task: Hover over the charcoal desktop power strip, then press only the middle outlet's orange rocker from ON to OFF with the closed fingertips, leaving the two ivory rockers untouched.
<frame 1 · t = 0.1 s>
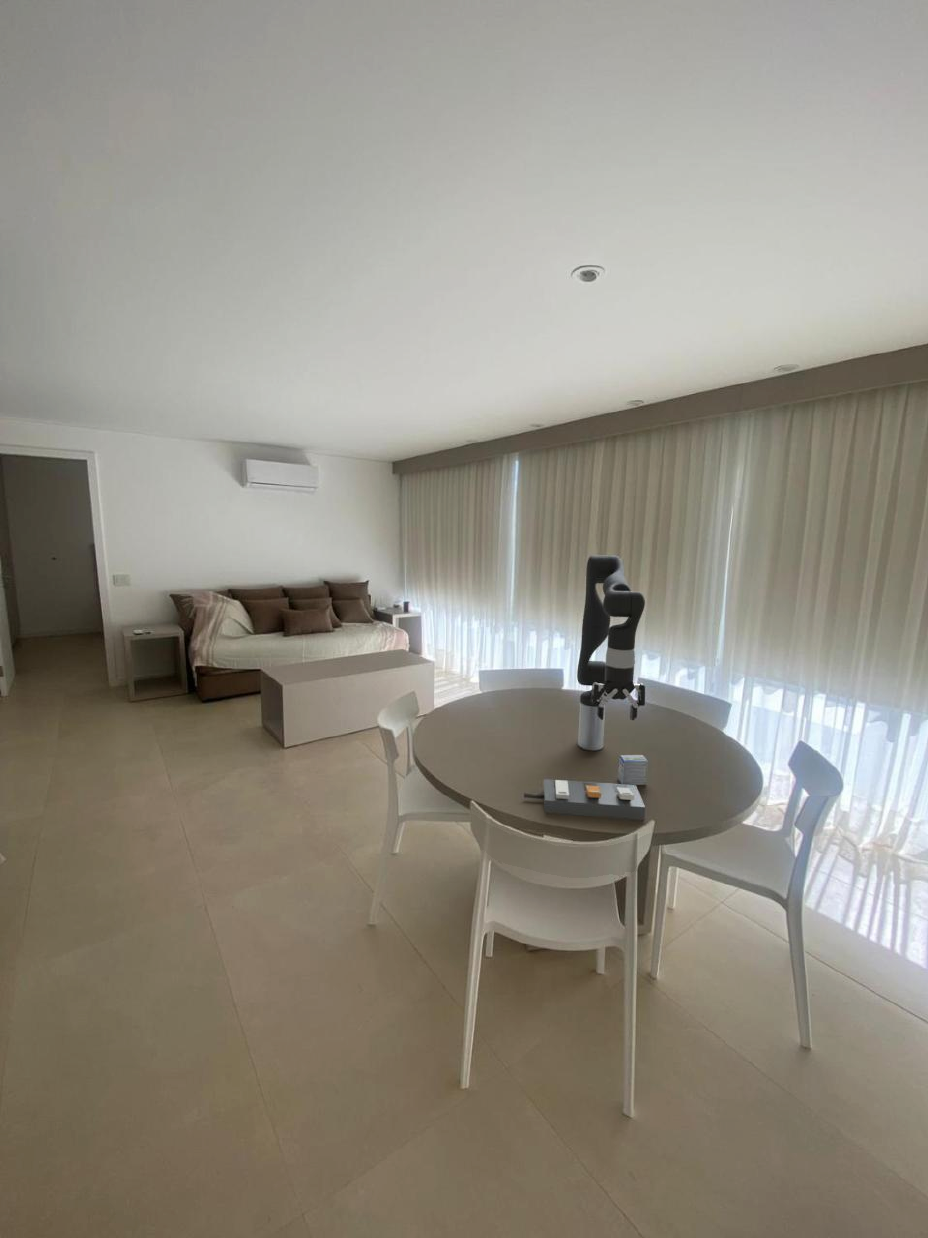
hand: (616, 719, 134), 29 cm above the table, fingers open, 8 cm apart
rocker 2: (593, 791, 140), point 6 cm above the table, hinge at -12.0°
medicine box: (631, 783, 157), on the table
rocker 1: (561, 789, 141), point 6 cm above the table, hinge at 12.0°
rocker 3: (624, 793, 139), point 6 cm above the table, hinge at -12.0°
power strip: (591, 804, 144), on the table
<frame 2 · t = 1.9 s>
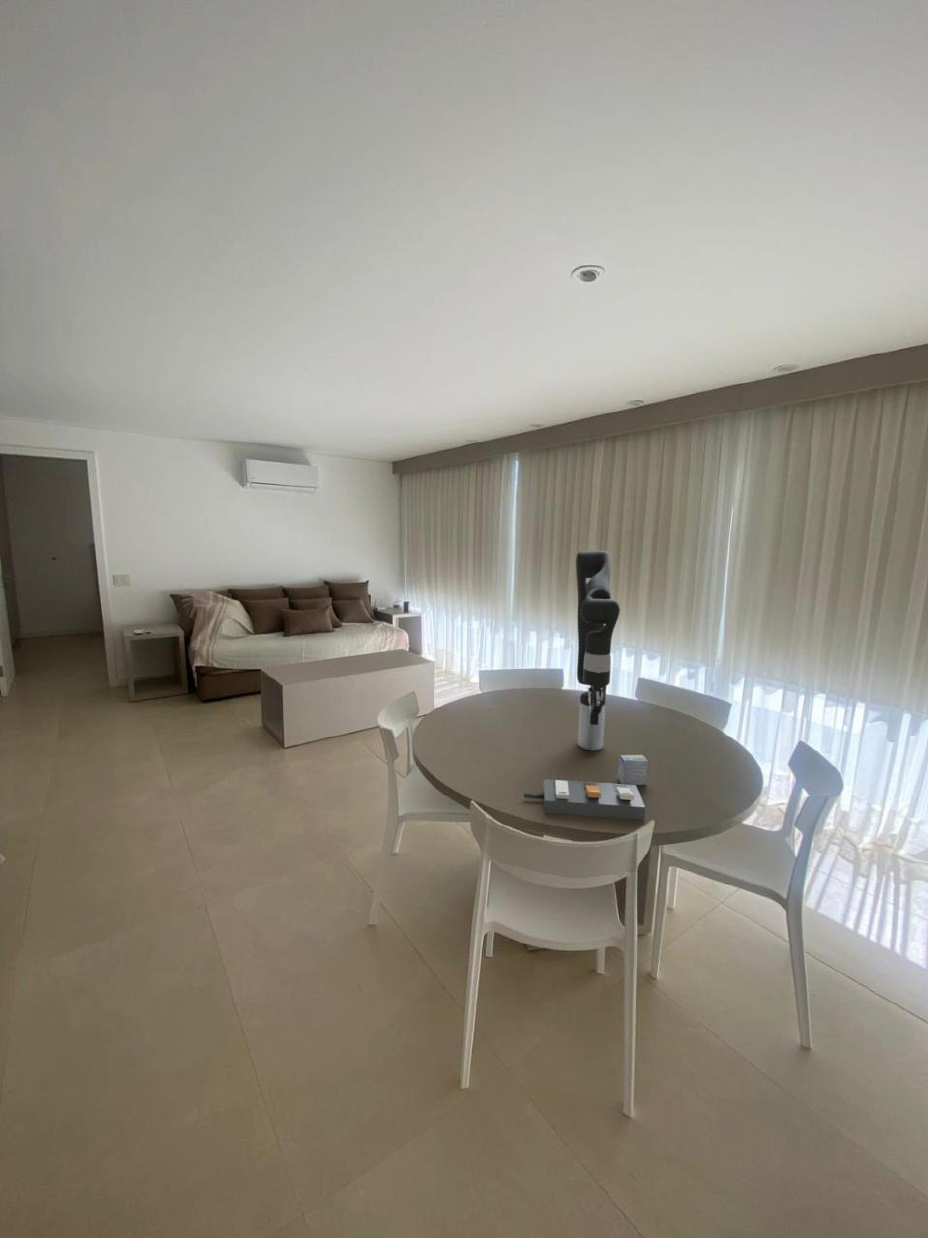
hand: (593, 723, 142), 25 cm above the table, fingers closed
nothing on the table moved.
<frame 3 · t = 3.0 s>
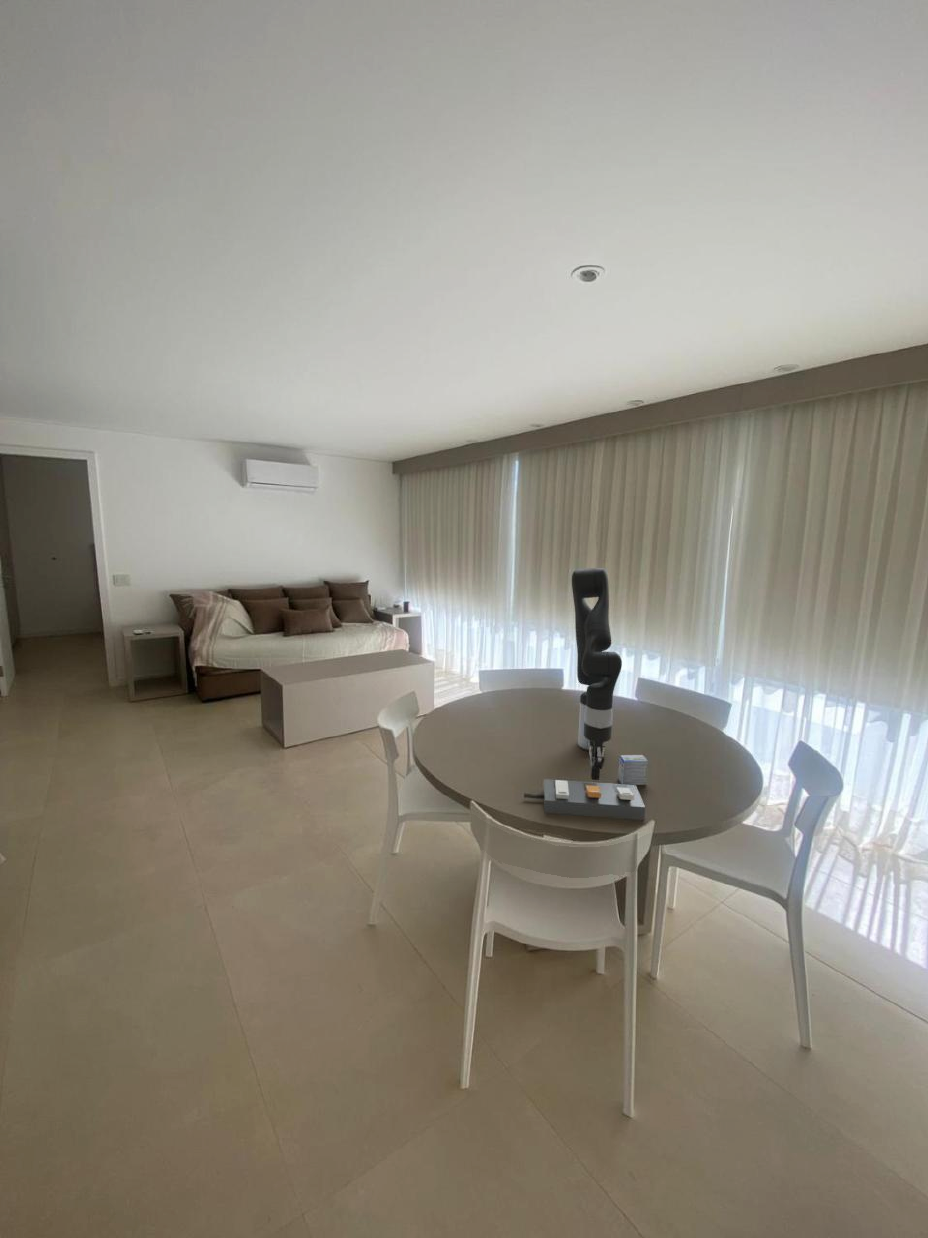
hand: (594, 778, 137), 11 cm above the table, fingers closed
nothing on the table moved.
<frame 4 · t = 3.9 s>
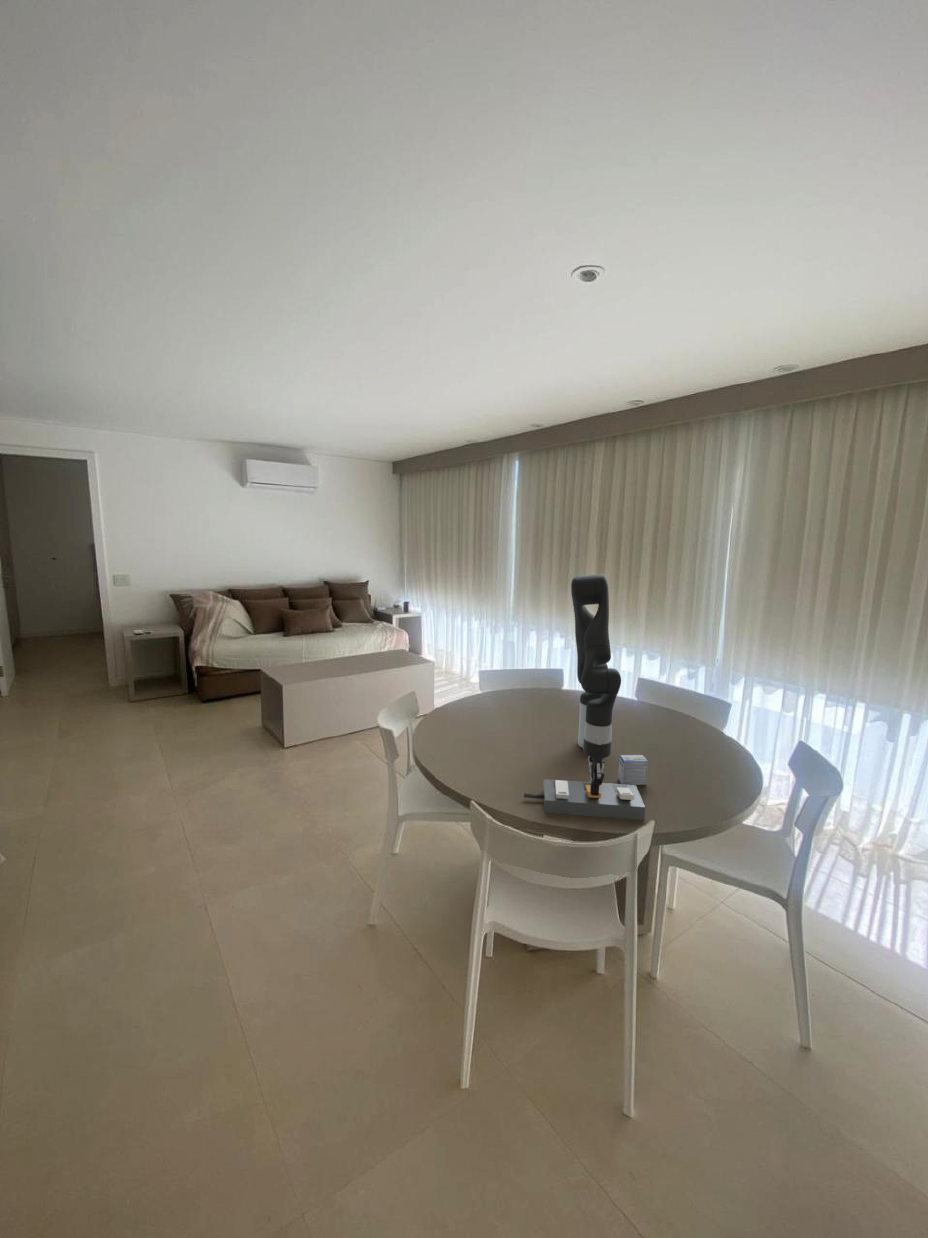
hand: (594, 794, 137), 7 cm above the table, fingers closed
rocker 2: (593, 791, 140), point 6 cm above the table, hinge at -10.4°, touching gripper
everything else where it was.
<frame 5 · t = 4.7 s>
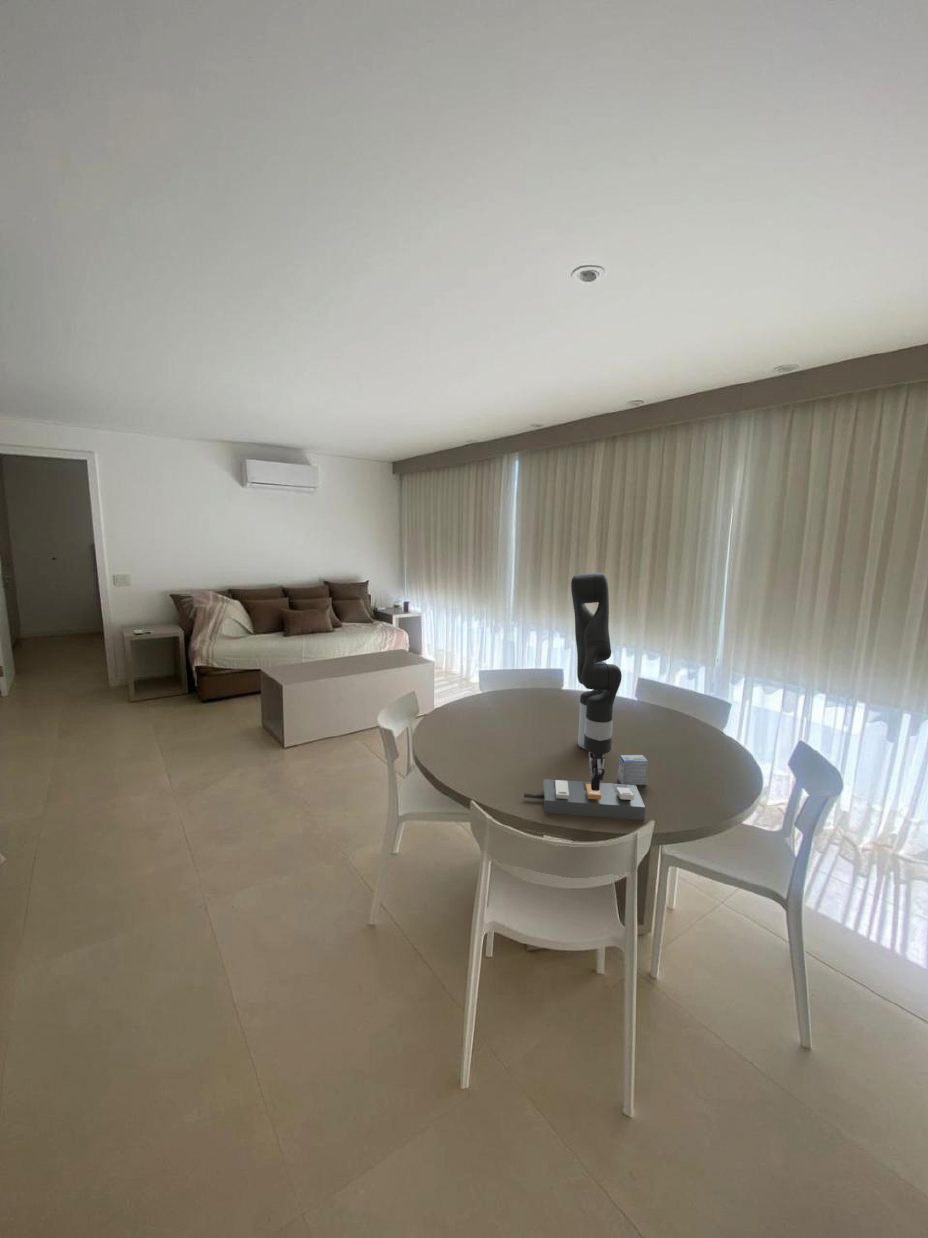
hand: (595, 789, 137), 8 cm above the table, fingers closed
rocker 2: (593, 791, 140), point 6 cm above the table, hinge at 0.3°
everything else where it was.
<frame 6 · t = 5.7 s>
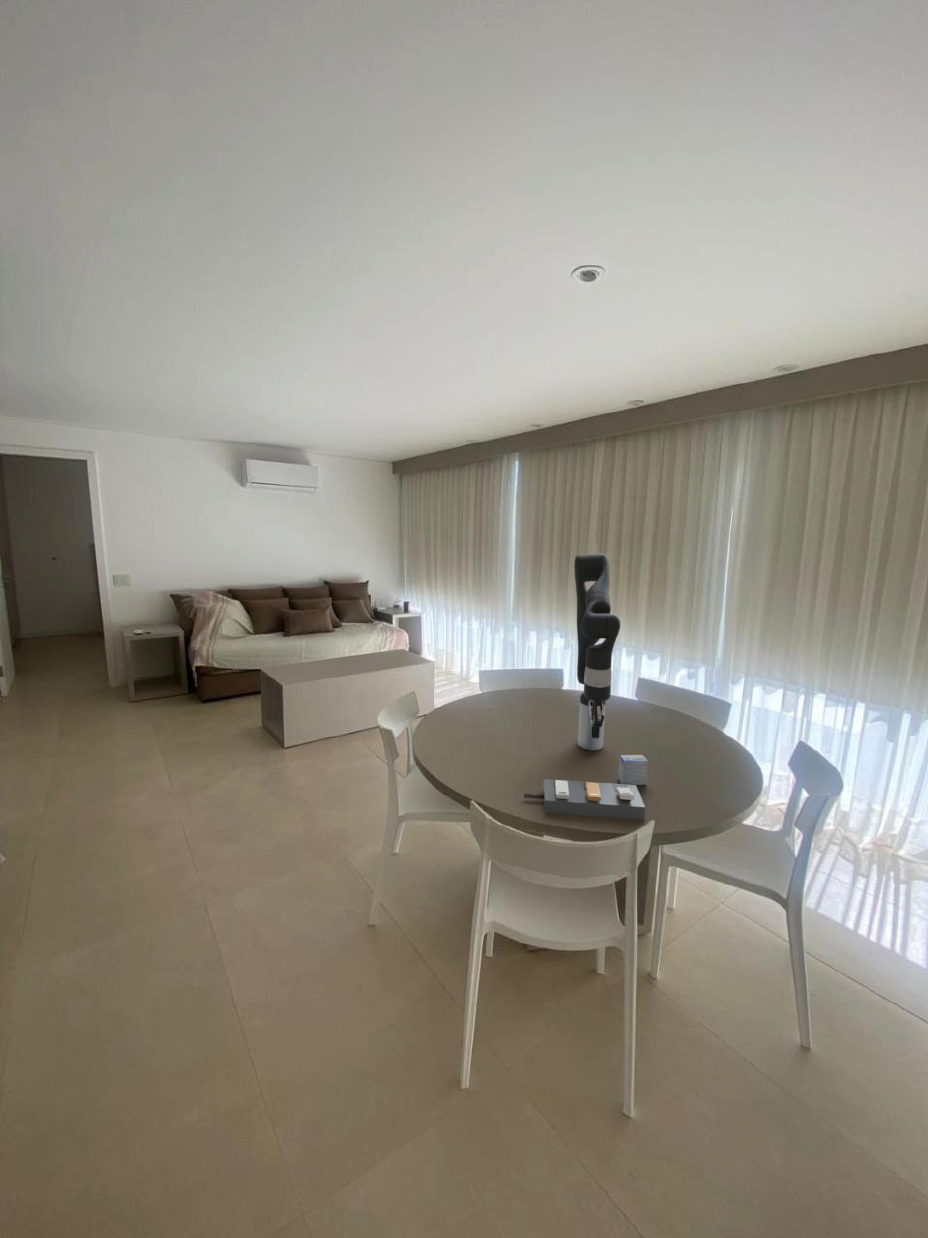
hand: (594, 736, 142), 21 cm above the table, fingers closed
rocker 2: (593, 791, 140), point 6 cm above the table, hinge at 10.6°
everything else where it was.
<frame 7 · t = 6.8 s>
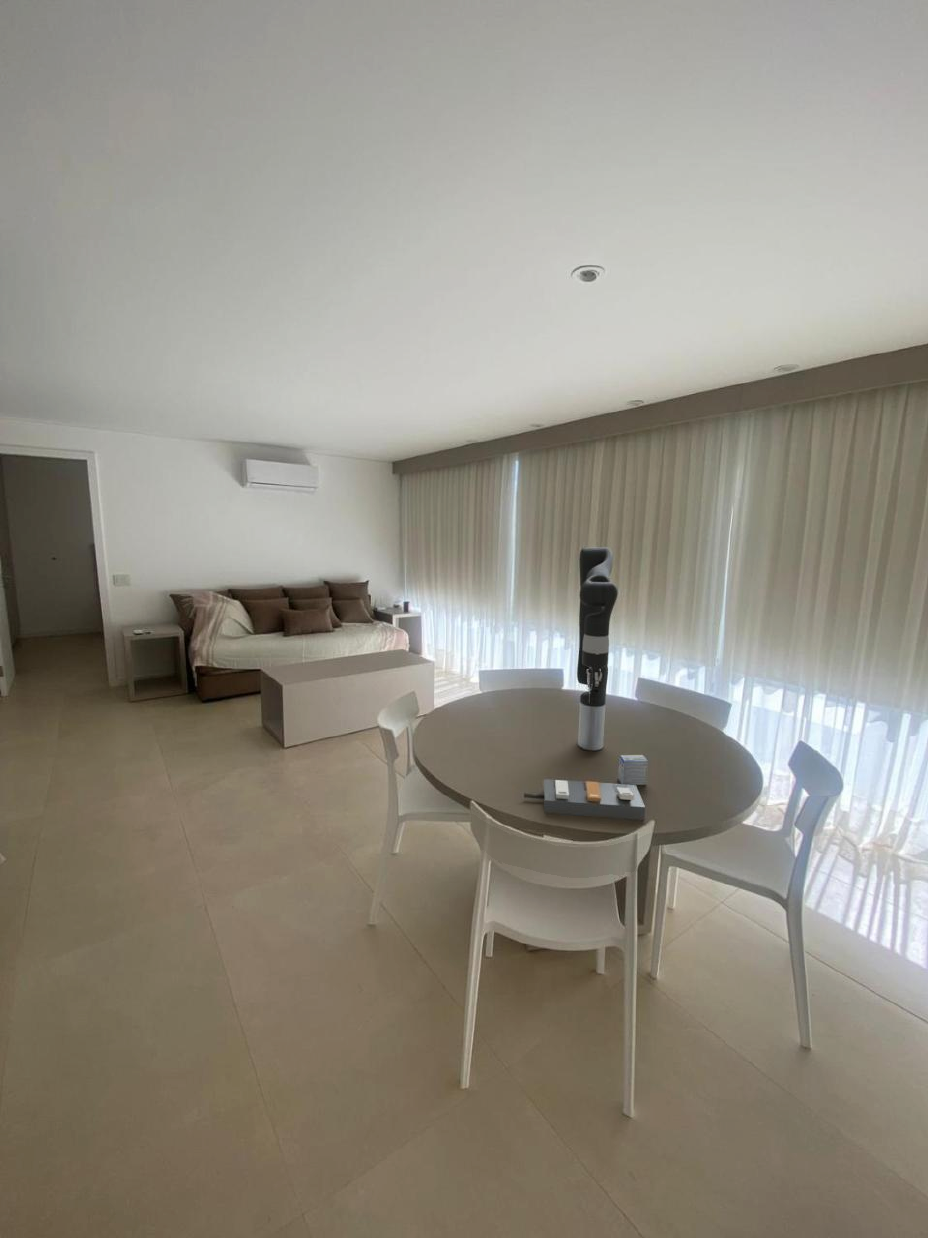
hand: (592, 704, 145), 29 cm above the table, fingers closed
rocker 2: (593, 791, 140), point 6 cm above the table, hinge at 17.9°
everything else where it was.
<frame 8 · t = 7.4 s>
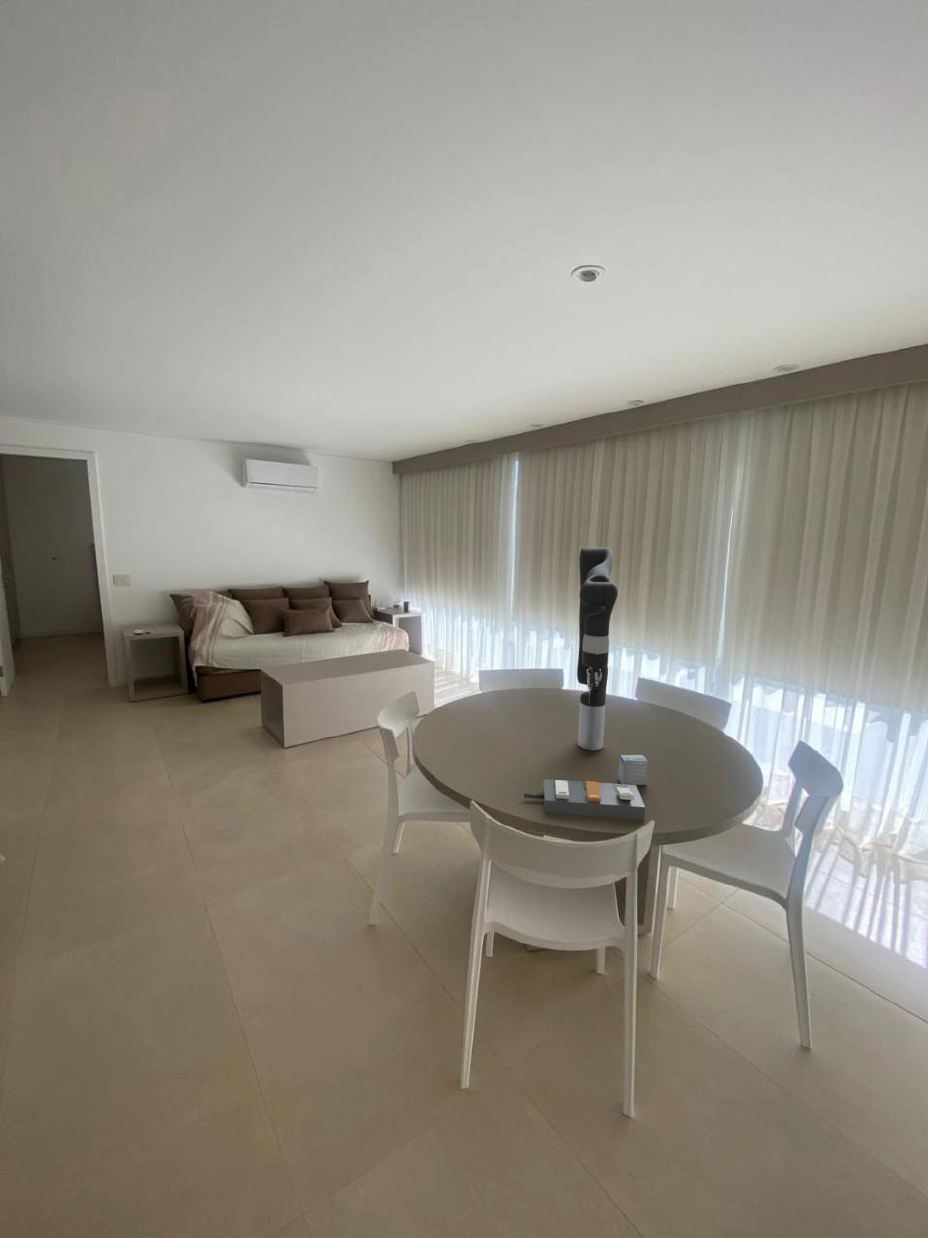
hand: (592, 704, 145), 29 cm above the table, fingers closed
rocker 2: (593, 791, 140), point 6 cm above the table, hinge at 20.7°
everything else where it was.
at the end: rocker 2 at +22° (first picture: -12°); rocker 1 at +12° (first picture: +12°); rocker 3 at -12° (first picture: -12°) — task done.
